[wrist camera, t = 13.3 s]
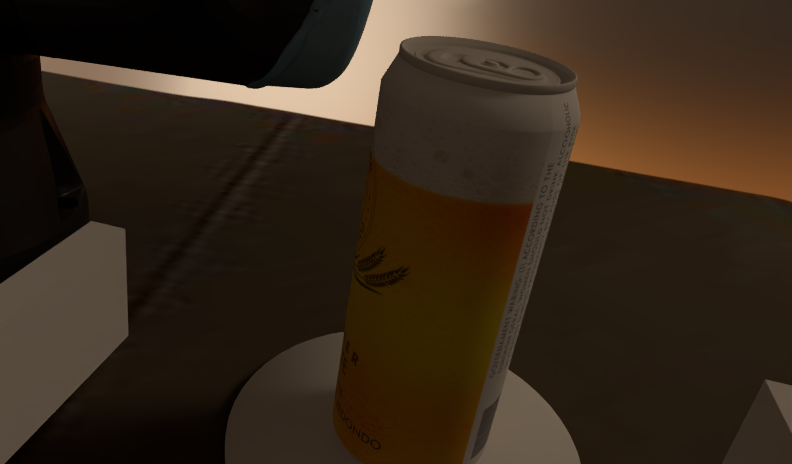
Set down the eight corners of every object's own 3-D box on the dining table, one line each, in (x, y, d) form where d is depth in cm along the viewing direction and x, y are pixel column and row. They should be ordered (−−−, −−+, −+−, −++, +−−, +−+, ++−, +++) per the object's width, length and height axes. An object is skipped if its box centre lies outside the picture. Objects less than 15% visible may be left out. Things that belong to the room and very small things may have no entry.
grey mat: (143, 447, 25) (143, 435, 24) (373, 306, 35) (374, 296, 35) (466, 718, 18) (470, 706, 18) (628, 445, 29) (632, 435, 29)
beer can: (368, 367, 30) (427, 25, 23) (498, 418, 28) (603, 65, 22) (301, 456, 25) (352, 49, 18) (456, 525, 23) (575, 104, 16)
